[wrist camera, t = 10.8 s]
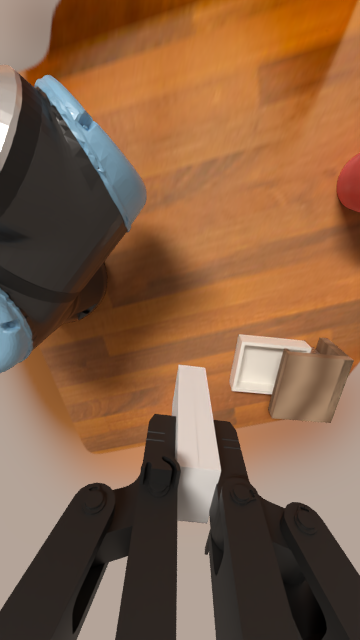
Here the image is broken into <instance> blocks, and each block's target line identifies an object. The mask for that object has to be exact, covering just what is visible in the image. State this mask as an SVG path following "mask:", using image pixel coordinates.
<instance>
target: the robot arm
mask: <svg viewBox="0 0 360 640" xmlns="http://www.w3.org/2000/svg"><path fill="white" fill-rule="evenodd" d="M145 202H146V187H145V185H144V183H143V181H142V179H141V177H140V176H139V174H138V173H137V172H136V170H135V169H134V167H133V166H132V165H131V163H130V162H129V161H128V160H127V158H126V157H125V156H124V154H123V153H122V152H121V151H120V149H119V148H118V147H117V146H116V145H115V143H114V142H113V141H112V140H111V139H110V137H109V136H108V135H107V134H106V133H105V132H104V130H103V129H102V128H101V127H100V126H99V125H98V124H97V123H96V122H94V121H93V119H92V117H91V116H90V115H89V114H88V113H87V112H86V111H85V110H84V108H83V107H82V106H81V104H80V103H79V102H78V101H77V100H76V99H75V98H74V97H73V96H72V94H71V93H70V92H69V91H68V90H67V89H66V88H65V87H64V86H63V85H62V84H61V83H60V82H58V81H57V80H56V79H55V78H53V77H52V76H50V75H45V76H44V77H43V78H42V79H38V80H37V81H36V83H35V88H34V87H33V86H32V85H31V84H30V83H28V82H27V81H26V80H25V79H24V78H23V77H22V76H21V75H20V74H18V73H17V71H15V70H14V69H13V68H12V67H10V66H9V65H0V373H1V372H4V371H6V370H8V369H10V368H12V367H13V366H14V365H16V364H17V363H19V362H22V361H23V360H25V359H26V358H27V357H28V356H29V355H30V353H31V351H32V350H33V349H35V348H36V347H37V346H38V345H39V344H40V343H41V342H42V341H43V340H45V339H46V338H47V337H48V336H49V335H50V334H51V333H52V332H54V331H55V330H56V329H57V328H58V327H59V326H60V325H61V324H63V323H68V322H73V321H77V320H80V319H82V318H84V317H86V316H87V315H89V314H90V313H91V312H92V311H93V310H94V309H95V308H96V307H97V306H98V305H99V304H100V302H101V301H102V299H103V297H104V295H105V292H106V288H107V273H106V268H105V265H104V261H105V260H106V258H107V257H108V256H109V254H110V253H111V252H112V250H113V249H114V248H115V246H116V245H117V244H118V243H119V241H120V240H121V239H122V237H123V236H124V235H125V233H126V232H129V231H130V229H131V224H132V223H133V221H134V220H135V219H136V217H137V216H138V214H139V213H140V211H141V210H142V208H143V207H144V205H145ZM209 516H210V526H211V529H210V532H209V536H208V539H207V543H206V547H205V554H206V555H207V554H208V552H209V556H210V568H211V579H212V580H211V581H212V593H213V605H214V617H215V630H216V640H360V575H359V574H358V572H357V571H356V570H355V568H354V567H353V565H352V564H351V562H350V560H349V559H348V558H347V556H346V554H345V553H344V551H343V550H342V549H341V547H340V545H339V544H338V543H337V541H336V540H335V538H334V537H333V535H332V534H331V532H330V531H329V529H328V528H327V526H326V525H325V523H324V522H323V520H322V519H321V518H320V516H319V515H318V514H317V513H316V512H315V511H314V510H312V509H311V508H310V507H309V506H307V505H304V504H302V503H298V502H292V503H290V504H288V505H287V506H286V508H283V507H280V506H278V505H275V504H273V503H271V502H269V501H267V500H265V499H263V498H262V497H261V496H259V495H258V493H257V491H256V489H255V488H254V487H253V486H252V485H251V484H250V482H249V479H248V475H247V471H246V467H245V463H244V460H243V456H242V452H241V450H240V444H239V442H238V437H237V432H236V430H235V428H234V427H233V426H232V424H231V423H230V422H227V421H218V420H213V415H212V409H211V403H210V396H209V390H208V383H207V377H206V371H205V368H202V367H194V366H186V365H179V367H178V373H177V379H176V386H175V392H174V398H173V405H172V416H169V415H160V414H155V415H154V416H153V417H152V418H151V420H150V421H149V426H148V433H147V439H146V446H145V452H144V459H143V464H142V466H141V473H140V475H139V477H138V479H137V480H136V481H135V482H134V483H132V484H130V485H129V486H126V487H123V488H119V489H115V490H112V489H111V488H110V487H109V486H107V485H105V484H102V483H93V484H88V485H87V486H85V487H83V488H81V489H80V491H78V493H77V494H76V495H75V496H74V498H73V499H72V501H71V502H70V504H69V505H68V507H67V508H66V510H65V512H64V513H63V515H62V516H61V518H60V519H59V521H58V522H57V524H56V525H55V527H54V529H53V530H52V532H51V533H50V535H49V536H48V538H47V539H46V541H45V543H44V544H43V546H42V547H41V549H40V550H39V552H38V554H37V555H36V556H35V558H34V560H33V561H32V563H31V564H30V566H29V567H28V569H27V570H26V572H25V574H24V575H23V576H22V578H21V580H20V581H19V583H18V584H17V586H16V587H15V589H14V590H13V592H12V594H11V595H10V597H9V598H8V600H7V601H6V603H5V604H4V606H3V608H2V609H1V611H0V640H77V637H78V635H79V633H80V630H81V628H82V625H83V623H84V621H85V618H86V616H87V613H88V611H89V609H90V606H91V604H92V601H93V599H94V596H95V594H96V592H97V589H98V587H99V585H100V582H101V580H102V577H103V575H104V572H105V570H106V568H107V565H108V563H109V562H111V561H113V560H117V559H120V558H123V557H126V556H128V560H127V566H126V573H125V580H124V586H123V593H122V599H121V606H120V612H119V619H118V625H117V632H116V638H115V640H176V596H177V594H176V593H177V520H178V521H188V522H198V523H207V522H208V517H209Z"/></svg>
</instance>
